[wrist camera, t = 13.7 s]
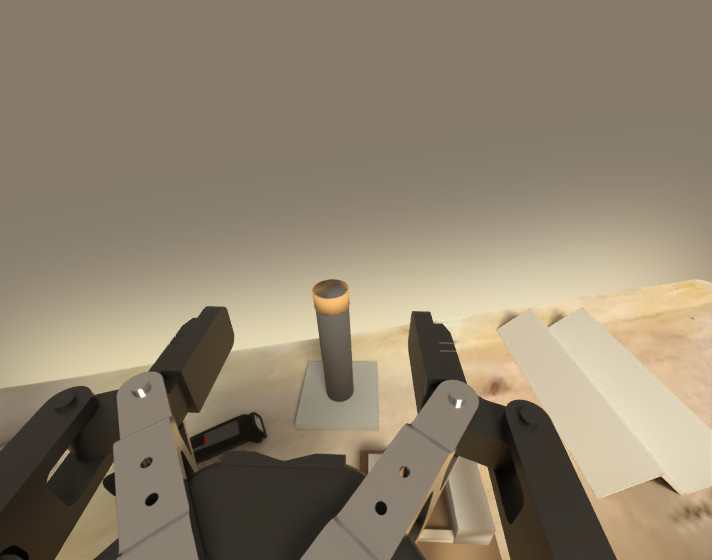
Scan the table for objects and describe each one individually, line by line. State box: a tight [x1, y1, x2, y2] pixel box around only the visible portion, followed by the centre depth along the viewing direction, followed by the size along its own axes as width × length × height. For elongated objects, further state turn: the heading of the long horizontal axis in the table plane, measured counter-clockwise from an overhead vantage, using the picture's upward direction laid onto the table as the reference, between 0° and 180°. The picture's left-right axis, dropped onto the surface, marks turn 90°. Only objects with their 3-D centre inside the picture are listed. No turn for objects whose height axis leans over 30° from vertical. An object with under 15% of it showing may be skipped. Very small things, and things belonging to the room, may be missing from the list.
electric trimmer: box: [103, 412, 267, 496], centre depth 35 cm, size 4×16×3 cm, turn 117°
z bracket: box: [497, 307, 712, 498], centre depth 41 cm, size 12×25×6 cm
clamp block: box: [361, 451, 502, 560], centre depth 29 cm, size 12×10×4 cm
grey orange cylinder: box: [313, 279, 354, 402], centre depth 37 cm, size 4×4×16 cm
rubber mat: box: [295, 361, 379, 431], centre depth 42 cm, size 10×10×1 cm
